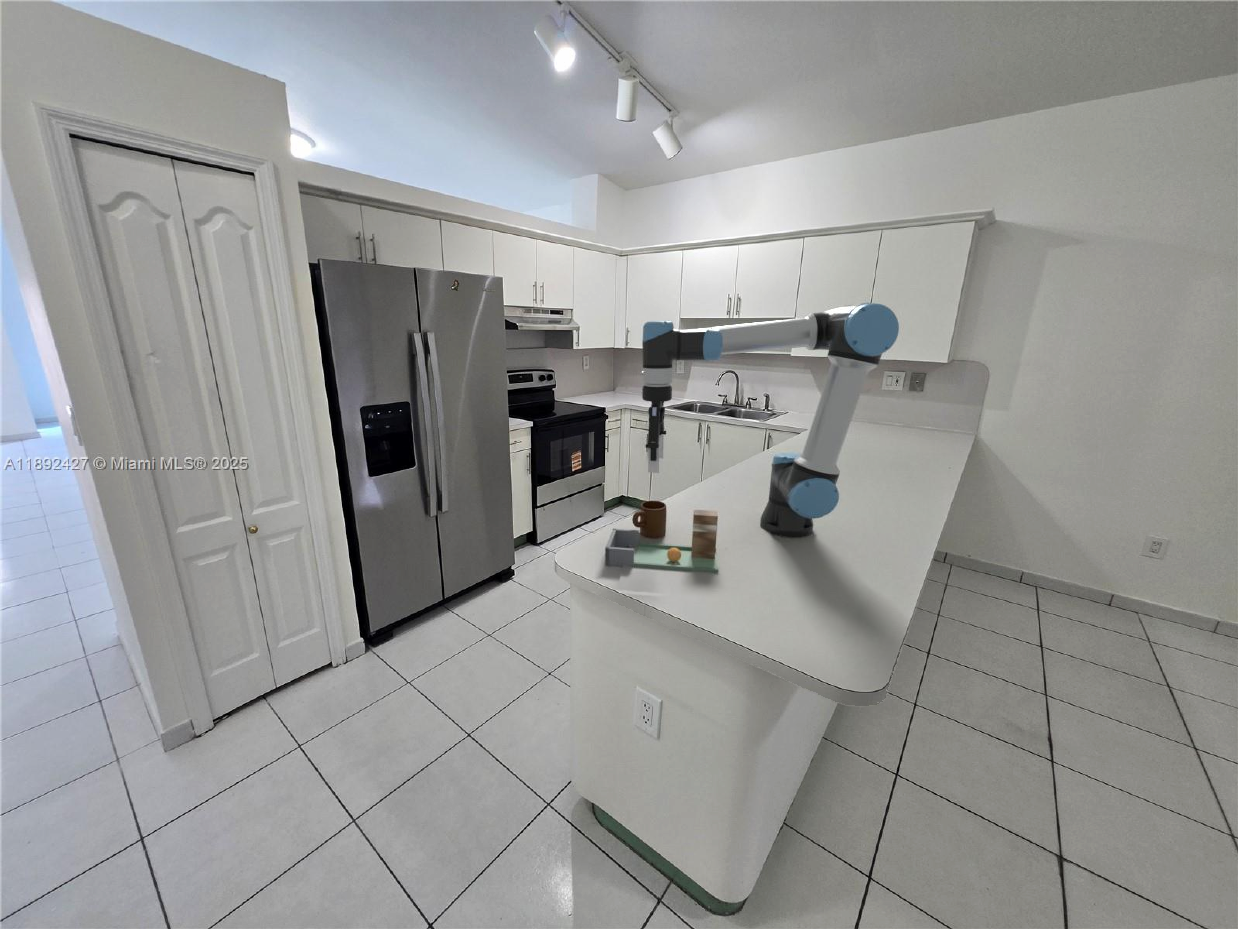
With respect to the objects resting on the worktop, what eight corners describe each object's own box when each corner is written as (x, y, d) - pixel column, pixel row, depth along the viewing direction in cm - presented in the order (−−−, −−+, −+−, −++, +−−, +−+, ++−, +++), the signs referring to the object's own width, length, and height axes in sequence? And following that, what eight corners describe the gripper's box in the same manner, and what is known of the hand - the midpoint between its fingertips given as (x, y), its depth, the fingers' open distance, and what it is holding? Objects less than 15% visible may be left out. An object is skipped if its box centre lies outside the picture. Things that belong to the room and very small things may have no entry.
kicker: (714, 552, 124) (717, 510, 120) (715, 559, 120) (718, 516, 117) (691, 550, 125) (693, 509, 121) (691, 557, 121) (693, 514, 118)
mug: (642, 547, 128) (643, 516, 125) (623, 538, 133) (623, 508, 130) (671, 535, 136) (672, 505, 133) (652, 527, 141) (652, 498, 138)
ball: (681, 558, 121) (681, 545, 120) (680, 565, 117) (681, 552, 116) (667, 557, 121) (667, 544, 120) (666, 563, 118) (667, 551, 117)
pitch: (715, 552, 125) (716, 535, 124) (718, 574, 114) (719, 556, 112) (612, 545, 129) (612, 528, 128) (605, 566, 118) (605, 548, 116)
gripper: (647, 379, 130) (647, 452, 136) (635, 390, 106) (635, 478, 112) (674, 379, 129) (672, 453, 135) (668, 391, 105) (666, 479, 111)
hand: (656, 464), depth 124 cm, fingers open, 13 cm apart
